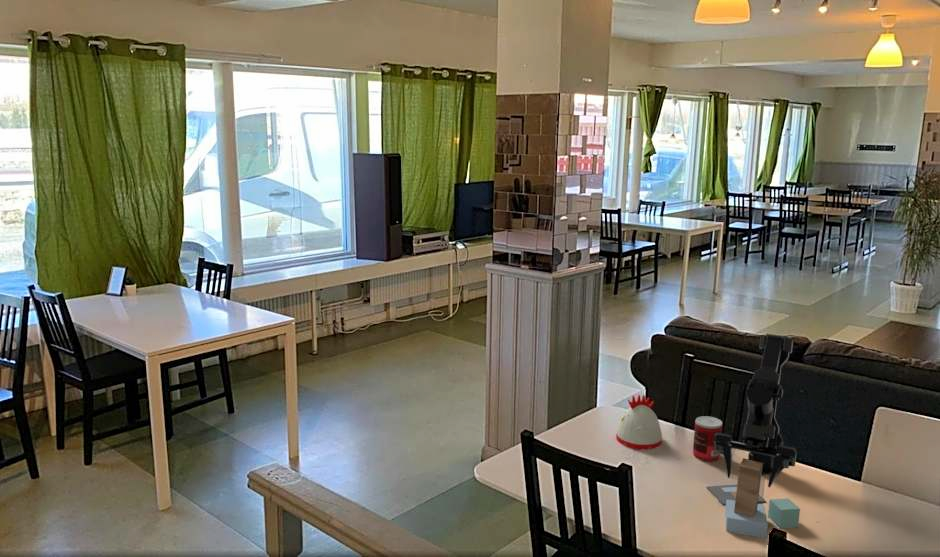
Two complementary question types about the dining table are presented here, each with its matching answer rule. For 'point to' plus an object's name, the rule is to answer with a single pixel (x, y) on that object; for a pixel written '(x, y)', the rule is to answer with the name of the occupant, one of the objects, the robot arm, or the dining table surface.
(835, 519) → the dining table surface
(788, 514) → the teal cube
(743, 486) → the walnut pillar
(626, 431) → the kitchen timer
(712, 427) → the canned food
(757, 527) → the blue base block
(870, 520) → the dining table surface
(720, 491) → the card
